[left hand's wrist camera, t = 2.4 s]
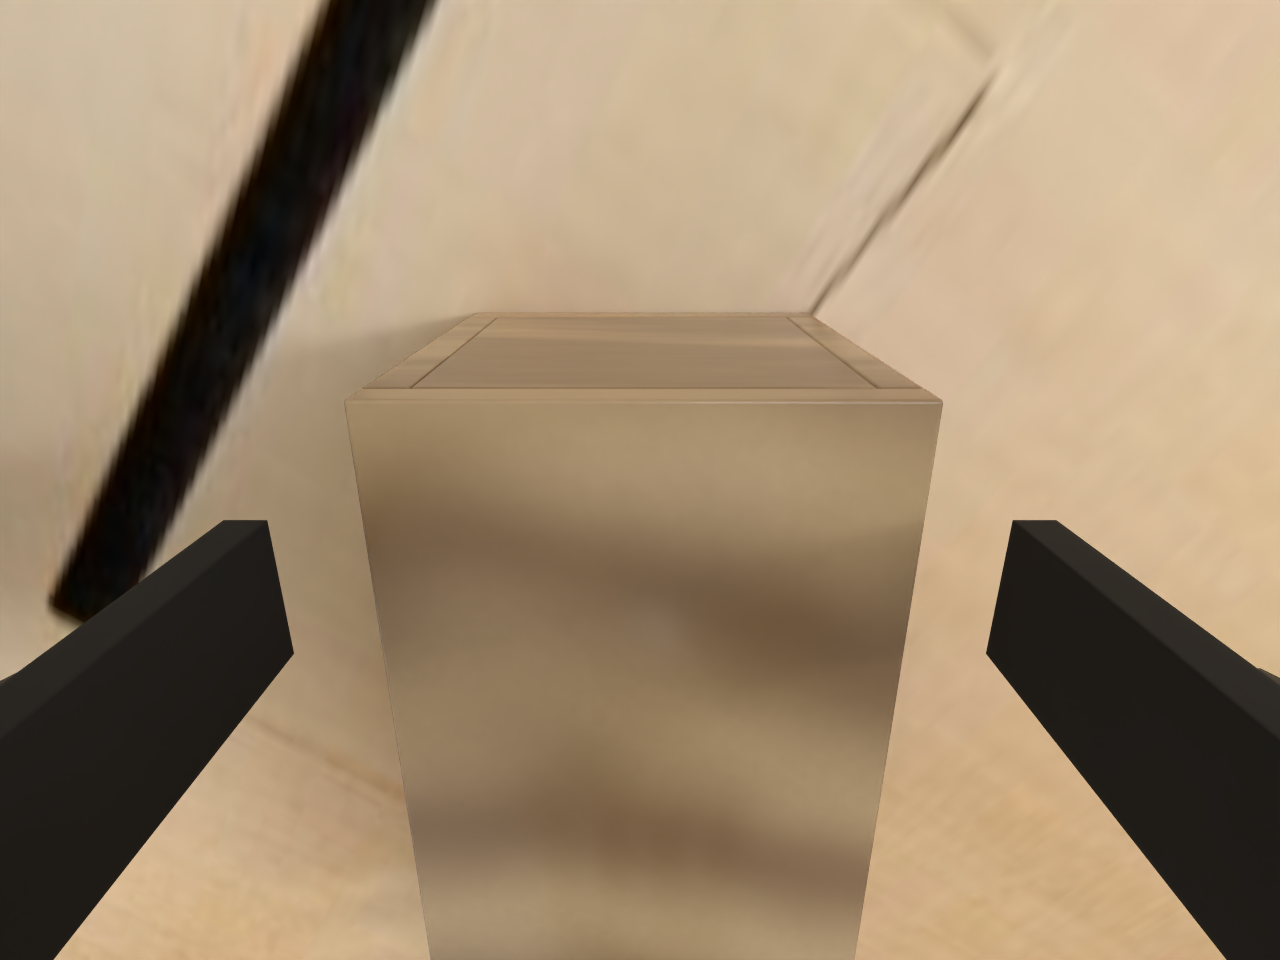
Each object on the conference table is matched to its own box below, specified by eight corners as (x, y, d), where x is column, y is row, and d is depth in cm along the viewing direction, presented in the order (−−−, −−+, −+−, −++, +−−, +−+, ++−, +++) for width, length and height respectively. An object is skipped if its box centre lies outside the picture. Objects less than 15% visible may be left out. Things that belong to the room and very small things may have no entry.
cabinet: (765, 826, 29) (828, 1132, 20) (516, 826, 29) (456, 1132, 20) (809, 312, 22) (945, 400, 12) (474, 312, 22) (342, 400, 12)
